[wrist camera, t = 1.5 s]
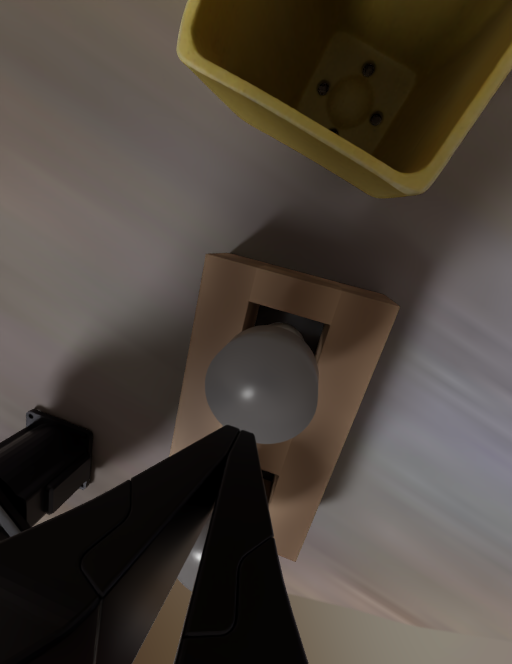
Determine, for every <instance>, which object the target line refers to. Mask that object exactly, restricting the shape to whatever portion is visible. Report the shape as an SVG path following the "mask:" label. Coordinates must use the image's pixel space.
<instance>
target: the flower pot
mask: <svg viewBox="0 0 512 664" xmlns="http://www.w3.org/2000/svg"><path fill="white" fill-rule="evenodd" d="M177 54H178V56H179V58H180V60H181V61H182V62H183V63H184V64H185V65H186V66H187V67H188V68H189V69H190V70H191V71H192V72H194V73H195V74H196V75H197V77H198V78H199V79H200V80H201V81H202V82H203V83H204V84H205V85H206V86H207V87H208V88H209V89H210V90H211V91H212V92H213V93H214V94H215V95H217V96H218V97H219V98H220V99H221V100H222V101H223V102H224V103H225V104H226V105H227V106H228V107H229V108H230V109H231V110H232V111H233V112H234V113H235V114H236V115H237V116H239V117H240V118H241V119H242V120H244V121H245V122H247V123H248V124H250V125H251V126H253V127H255V128H257V129H259V130H260V131H262V132H264V133H266V134H268V135H270V136H271V137H273V138H275V139H276V140H278V141H280V142H282V143H283V144H285V145H287V146H289V147H290V148H292V149H294V150H296V151H297V152H299V153H301V154H302V155H304V156H306V157H307V158H309V159H311V160H313V161H314V162H316V163H318V164H319V165H321V166H323V167H324V168H326V169H328V170H329V171H331V172H332V173H334V174H336V175H337V176H339V177H341V178H342V179H344V180H346V181H347V182H349V183H350V184H352V185H354V186H355V187H357V188H358V189H360V190H361V191H363V192H365V193H366V194H368V195H370V196H372V197H375V198H396V197H405V196H415V195H419V194H422V193H424V192H425V191H426V190H427V189H429V188H430V186H431V185H432V184H433V182H434V181H435V180H436V178H437V177H438V176H439V174H440V173H441V171H442V170H443V168H444V167H445V166H446V164H447V163H448V161H449V160H450V158H451V157H452V155H453V153H454V152H455V151H456V149H457V148H458V146H459V145H460V143H461V142H462V140H463V139H464V138H465V136H466V135H467V133H468V132H469V130H470V129H471V127H472V126H473V125H474V123H475V122H476V120H477V119H478V117H479V116H480V115H481V113H482V112H483V110H484V109H485V107H486V106H487V104H488V103H489V101H490V100H491V98H492V97H493V96H494V94H495V93H496V91H497V90H498V88H499V87H500V85H501V84H502V82H503V81H504V79H505V78H506V77H507V75H508V74H509V72H510V71H511V69H512V0H188V2H187V4H186V7H185V10H184V13H183V17H182V21H181V25H180V30H179V35H178V42H177ZM367 64H372V65H373V66H374V72H373V74H372V75H371V76H367V77H366V76H364V75H363V68H364V67H365V65H367ZM322 83H326V84H328V86H329V90H328V92H327V93H326V94H325V95H320V94H319V93H318V88H319V86H320V85H321V84H322ZM374 114H380V115H381V118H382V120H381V122H380V124H378V125H376V126H374V125H372V124H371V122H370V119H371V116H372V115H374ZM330 130H335V131H336V132H337V134H338V135H337V134H335V133H333V132H332V131H330Z"/></svg>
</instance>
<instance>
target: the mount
mask: <svg viewBox="0 0 512 664" xmlns="http://www.w3.org/2000/svg"><path fill="white" fill-rule="evenodd" d="M260 305H263V306H267V307H270V308H274V309H277V310H281V311H284V312H287V313H291V314H294V315H298V316H301V317H305V318H308V319H312V320H315V321H318V322H322V323H325V324H324V327H323V330H322V333H321V336H320V339H319V342H318V345H317V348H316V351H315V354H314V356H315V358H316V361H317V365H318V371H319V381H318V402H317V408H316V412H315V414H314V416H313V419H312V420H311V422H310V423H309V425H308V426H307V427H306V428H305V429H304V430H303V431H302V432H301V433H300V434H298V435H297V436H295V437H294V438H291V439H289V440H287V441H284V442H280V443H275V444H260V443H256V444H257V449H258V455H259V460H260V465H261V469H262V470H265V471H268V472H270V473H273V474H275V475H274V478H273V481H272V482H271V481H269V480H266V479H263V481H264V486H265V491H266V496H267V501H268V507H269V512H270V517H271V522H272V528H273V533H274V539H275V542H276V547H277V553H278V555H280V556H282V557H285V558H287V559H290V560H292V561H294V562H296V560H297V557H298V555H299V552H300V550H301V547H302V545H303V543H304V540H305V538H306V535H307V533H308V530H309V528H310V526H311V523H312V521H313V518H314V516H315V513H316V511H317V509H318V506H319V504H320V501H321V499H322V496H323V494H324V491H325V489H326V487H327V484H328V482H329V479H330V477H331V474H332V472H333V470H334V467H335V465H336V462H337V460H338V457H339V455H340V452H341V450H342V448H343V445H344V443H345V440H346V438H347V435H348V433H349V431H350V428H351V426H352V423H353V421H354V418H355V416H356V414H357V411H358V409H359V406H360V404H361V401H362V399H363V396H364V394H365V392H366V389H367V387H368V384H369V382H370V379H371V377H372V375H373V372H374V370H375V367H376V365H377V362H378V360H379V357H380V355H381V353H382V350H383V348H384V345H385V343H386V340H387V338H388V336H389V333H390V331H391V328H392V326H393V323H394V321H395V318H396V316H397V314H398V311H399V309H400V306H399V305H397V304H396V303H395V302H393V301H392V300H391V299H389V298H388V297H387V296H385V295H384V294H380V293H376V292H373V291H369V290H365V289H361V288H358V287H354V286H350V285H347V284H343V283H339V282H335V281H332V280H328V279H324V278H320V277H317V276H313V275H309V274H306V273H302V272H298V271H294V270H291V269H287V268H283V267H280V266H276V265H272V264H268V263H265V262H261V261H257V260H254V259H250V258H246V257H242V256H239V255H235V254H231V253H214V254H206V257H205V263H204V268H203V274H202V279H201V285H200V290H199V296H198V301H197V307H196V312H195V318H194V323H193V329H192V334H191V340H190V346H189V351H188V357H187V362H186V368H185V373H184V379H183V384H182V390H181V395H180V401H179V406H178V412H177V417H176V423H175V428H174V434H173V439H172V445H171V451H170V456H172V455H173V454H175V453H177V452H179V451H180V450H182V449H184V448H186V447H188V446H189V445H191V444H193V443H195V442H196V441H198V440H200V439H202V438H203V437H205V436H207V435H209V434H210V433H212V432H214V431H216V430H218V429H219V428H221V427H223V426H222V424H221V423H220V422H219V421H218V420H217V419H216V417H215V416H214V415H213V413H212V411H211V409H210V407H209V405H208V402H207V398H206V394H205V377H206V373H207V370H208V367H209V365H210V363H211V362H212V360H213V358H214V357H215V356H216V355H217V354H218V353H219V352H220V351H221V350H222V349H223V348H224V347H225V346H226V345H227V344H228V343H229V342H230V341H231V340H232V339H233V338H234V337H235V336H236V335H238V334H239V333H240V332H242V331H244V330H246V329H248V328H251V327H255V323H256V319H257V315H258V311H259V307H260ZM170 456H169V457H170Z"/></svg>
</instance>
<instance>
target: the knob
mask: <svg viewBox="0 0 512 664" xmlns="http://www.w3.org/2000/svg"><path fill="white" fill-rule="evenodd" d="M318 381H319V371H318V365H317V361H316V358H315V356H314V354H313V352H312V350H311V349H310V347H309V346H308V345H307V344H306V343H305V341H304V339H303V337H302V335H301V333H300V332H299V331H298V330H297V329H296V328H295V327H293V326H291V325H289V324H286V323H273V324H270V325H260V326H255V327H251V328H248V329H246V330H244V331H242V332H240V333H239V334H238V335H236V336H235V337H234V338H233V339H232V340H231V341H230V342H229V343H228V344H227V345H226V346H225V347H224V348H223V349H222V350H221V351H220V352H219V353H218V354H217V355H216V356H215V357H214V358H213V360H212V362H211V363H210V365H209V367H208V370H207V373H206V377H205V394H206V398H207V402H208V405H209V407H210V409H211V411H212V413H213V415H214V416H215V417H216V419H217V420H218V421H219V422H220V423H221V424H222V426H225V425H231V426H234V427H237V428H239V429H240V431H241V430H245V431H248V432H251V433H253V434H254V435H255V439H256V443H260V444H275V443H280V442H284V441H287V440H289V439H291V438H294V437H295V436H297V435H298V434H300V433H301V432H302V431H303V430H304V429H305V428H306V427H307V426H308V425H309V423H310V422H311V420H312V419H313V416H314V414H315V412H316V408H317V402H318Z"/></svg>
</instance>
